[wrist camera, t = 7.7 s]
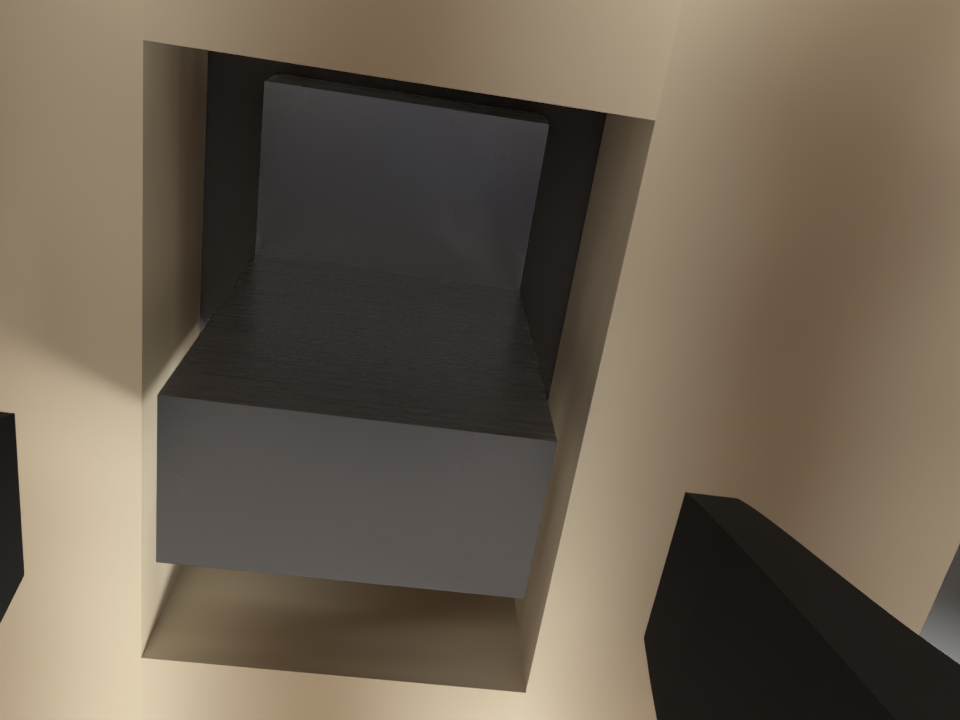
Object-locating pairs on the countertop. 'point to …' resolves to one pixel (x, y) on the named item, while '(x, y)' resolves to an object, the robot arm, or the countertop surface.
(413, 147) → the t bracket
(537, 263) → the countertop surface
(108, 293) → the well block
